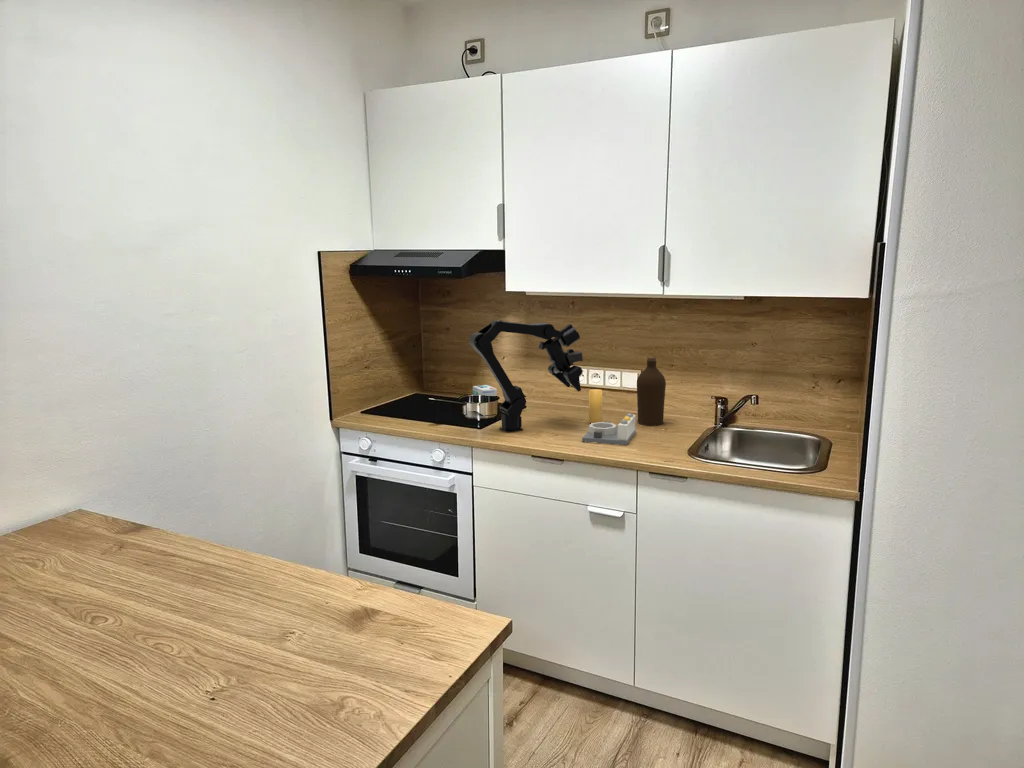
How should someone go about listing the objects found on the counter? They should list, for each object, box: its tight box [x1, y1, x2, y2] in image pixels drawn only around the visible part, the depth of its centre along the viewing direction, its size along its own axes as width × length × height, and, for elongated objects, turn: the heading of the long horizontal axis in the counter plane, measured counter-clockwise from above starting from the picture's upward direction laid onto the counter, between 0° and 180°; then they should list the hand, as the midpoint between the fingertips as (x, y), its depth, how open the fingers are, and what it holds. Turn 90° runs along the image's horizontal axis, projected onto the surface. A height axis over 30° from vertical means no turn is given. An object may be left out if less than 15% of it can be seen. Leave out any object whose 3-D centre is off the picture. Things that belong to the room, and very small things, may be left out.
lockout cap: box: [588, 388, 603, 424], centre depth 256 cm, size 5×5×12 cm
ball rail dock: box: [581, 412, 637, 446], centre depth 236 cm, size 15×18×8 cm
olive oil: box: [636, 356, 667, 426], centre depth 254 cm, size 11×11×25 cm
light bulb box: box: [472, 384, 498, 397], centre depth 276 cm, size 11×7×11 cm, turn 25°
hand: (574, 388), depth 255 cm, fingers open, 9 cm apart
